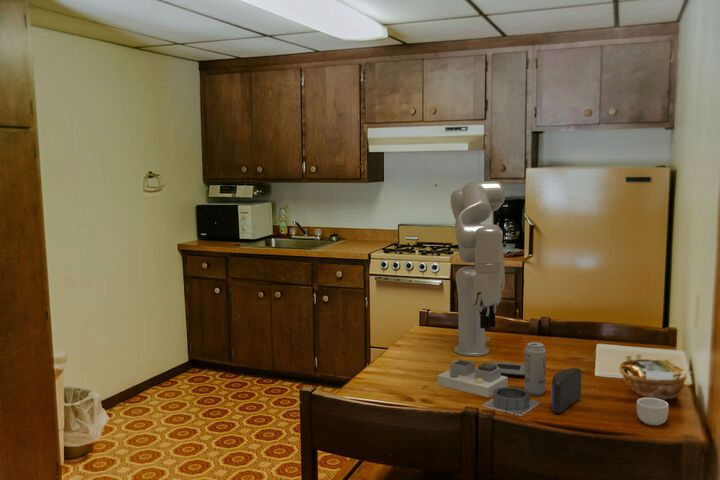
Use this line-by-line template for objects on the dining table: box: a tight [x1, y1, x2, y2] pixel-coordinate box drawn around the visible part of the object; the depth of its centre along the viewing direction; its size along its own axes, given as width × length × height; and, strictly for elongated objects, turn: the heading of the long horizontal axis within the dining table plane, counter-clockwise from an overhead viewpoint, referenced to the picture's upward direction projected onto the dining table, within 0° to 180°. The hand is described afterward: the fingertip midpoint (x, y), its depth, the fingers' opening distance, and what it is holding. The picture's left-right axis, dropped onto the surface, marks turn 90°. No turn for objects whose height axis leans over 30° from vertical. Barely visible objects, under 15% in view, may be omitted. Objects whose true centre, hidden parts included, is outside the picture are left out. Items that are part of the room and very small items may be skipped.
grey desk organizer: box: [437, 359, 509, 398], centre depth 198 cm, size 12×18×6 cm, turn 49°
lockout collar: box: [481, 386, 541, 417], centre depth 182 cm, size 12×12×4 cm
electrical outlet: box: [489, 360, 525, 378], centre depth 210 cm, size 13×10×2 cm
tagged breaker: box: [478, 362, 497, 372], centre depth 196 cm, size 4×4×2 cm
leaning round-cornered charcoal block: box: [550, 367, 582, 414], centre depth 181 cm, size 16×5×9 cm, turn 140°
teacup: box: [636, 397, 670, 426], centre depth 169 cm, size 10×8×5 cm
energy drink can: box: [524, 341, 547, 397], centre depth 190 cm, size 6×6×15 cm
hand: (487, 327), depth 194 cm, fingers closed
